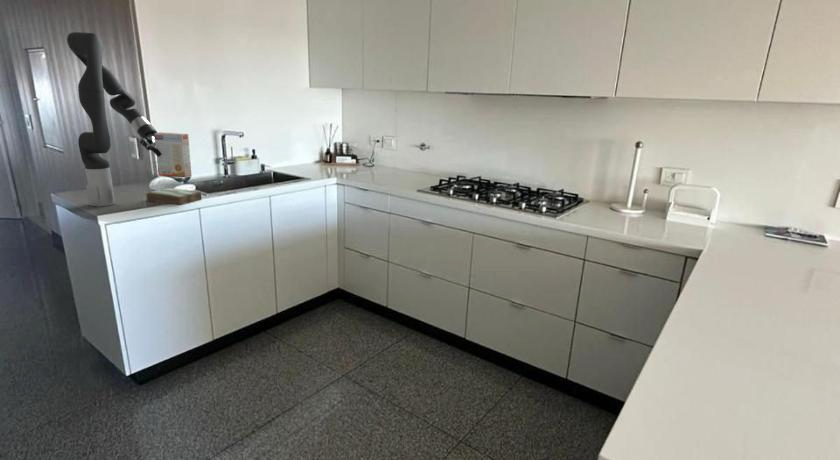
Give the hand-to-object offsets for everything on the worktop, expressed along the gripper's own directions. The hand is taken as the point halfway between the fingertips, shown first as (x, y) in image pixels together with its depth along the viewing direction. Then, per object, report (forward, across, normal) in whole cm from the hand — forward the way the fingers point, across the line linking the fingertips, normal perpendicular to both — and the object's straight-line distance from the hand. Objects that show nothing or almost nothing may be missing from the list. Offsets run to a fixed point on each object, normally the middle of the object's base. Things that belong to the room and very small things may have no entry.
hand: (165, 154), depth 222 cm
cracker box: (+10, 0, +5) cm, 11 cm away
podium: (+18, 0, +14) cm, 23 cm away
